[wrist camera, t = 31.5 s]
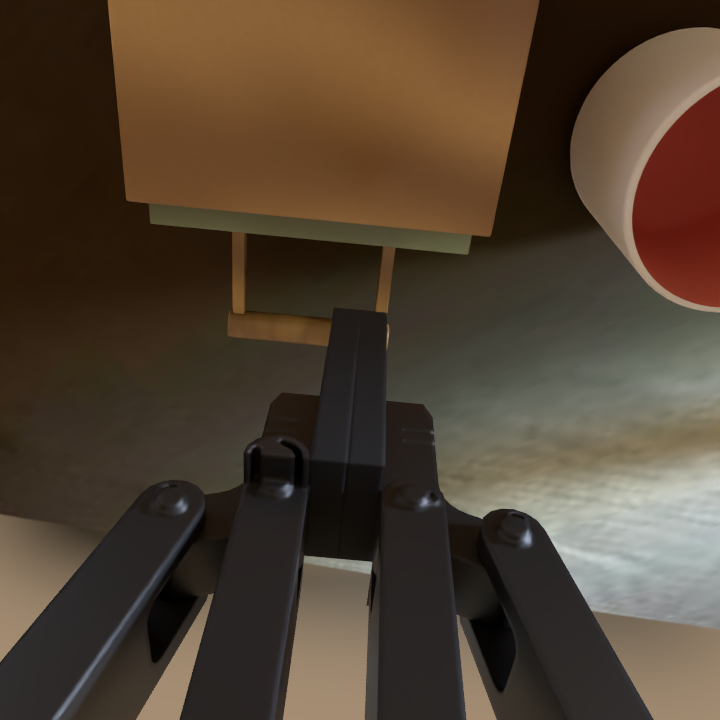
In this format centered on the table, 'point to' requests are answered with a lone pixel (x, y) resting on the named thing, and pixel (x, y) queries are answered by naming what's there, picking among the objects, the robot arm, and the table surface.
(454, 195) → the cabinet
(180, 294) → the table surface
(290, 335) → the drawer
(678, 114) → the cup
